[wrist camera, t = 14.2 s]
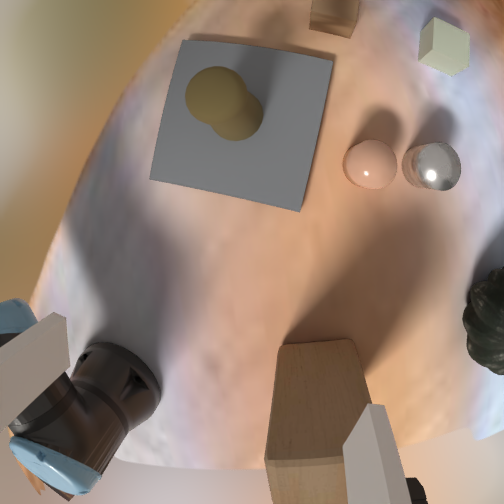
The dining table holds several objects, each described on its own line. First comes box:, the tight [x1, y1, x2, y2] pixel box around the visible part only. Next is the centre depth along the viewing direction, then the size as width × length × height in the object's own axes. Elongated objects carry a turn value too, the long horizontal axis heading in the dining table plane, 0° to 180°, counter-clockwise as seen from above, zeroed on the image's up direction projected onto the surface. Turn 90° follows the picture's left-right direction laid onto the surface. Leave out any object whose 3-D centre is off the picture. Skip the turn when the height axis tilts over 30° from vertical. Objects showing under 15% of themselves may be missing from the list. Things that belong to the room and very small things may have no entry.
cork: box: [185, 66, 263, 141], centre depth 27 cm, size 6×6×11 cm
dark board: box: [149, 40, 333, 212], centre depth 33 cm, size 18×18×2 cm
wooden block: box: [264, 339, 372, 504], centre depth 31 cm, size 10×10×20 cm
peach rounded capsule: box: [343, 140, 397, 189], centre depth 31 cm, size 5×5×5 cm
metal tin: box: [402, 142, 461, 191], centre depth 30 cm, size 5×5×6 cm
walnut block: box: [309, 0, 359, 39], centre depth 27 cm, size 5×5×5 cm
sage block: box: [418, 17, 470, 77], centre depth 26 cm, size 5×5×5 cm
